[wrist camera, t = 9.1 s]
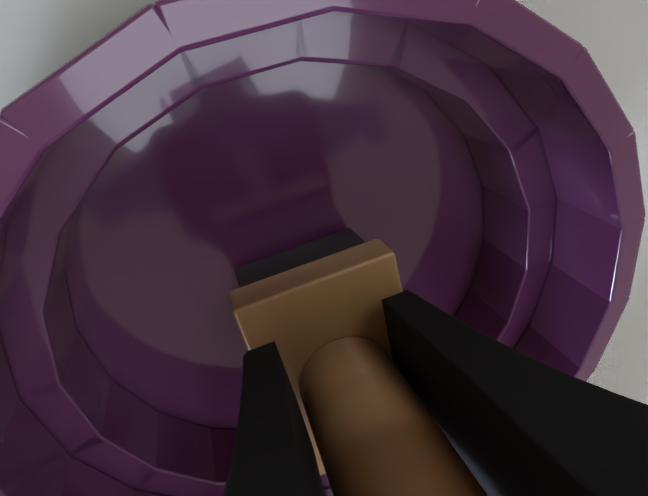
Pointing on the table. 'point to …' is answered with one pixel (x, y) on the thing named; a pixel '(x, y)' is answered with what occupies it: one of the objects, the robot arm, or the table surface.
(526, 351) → the bowl
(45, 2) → the table surface
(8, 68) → the table surface
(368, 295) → the rubber stamp
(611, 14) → the table surface
